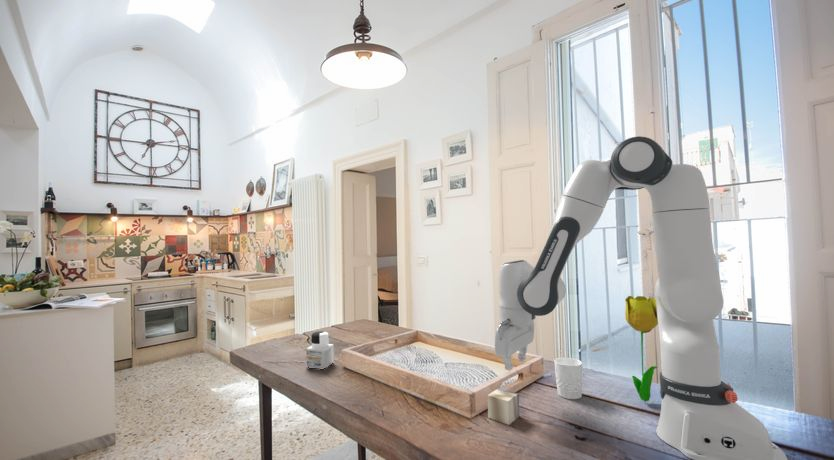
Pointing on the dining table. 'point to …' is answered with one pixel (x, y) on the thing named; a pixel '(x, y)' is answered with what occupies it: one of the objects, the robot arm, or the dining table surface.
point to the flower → (644, 320)
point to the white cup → (568, 377)
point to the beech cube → (503, 406)
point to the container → (320, 351)
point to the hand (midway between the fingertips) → (515, 364)
